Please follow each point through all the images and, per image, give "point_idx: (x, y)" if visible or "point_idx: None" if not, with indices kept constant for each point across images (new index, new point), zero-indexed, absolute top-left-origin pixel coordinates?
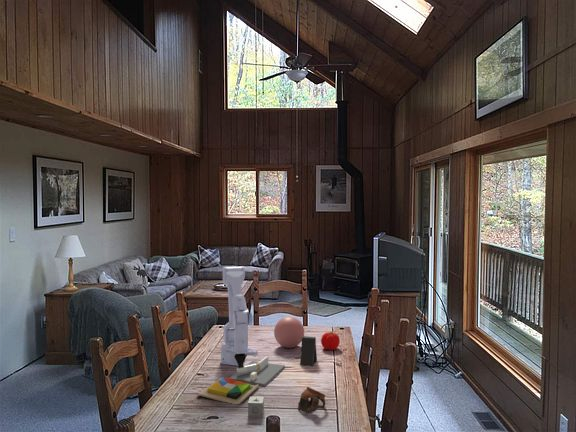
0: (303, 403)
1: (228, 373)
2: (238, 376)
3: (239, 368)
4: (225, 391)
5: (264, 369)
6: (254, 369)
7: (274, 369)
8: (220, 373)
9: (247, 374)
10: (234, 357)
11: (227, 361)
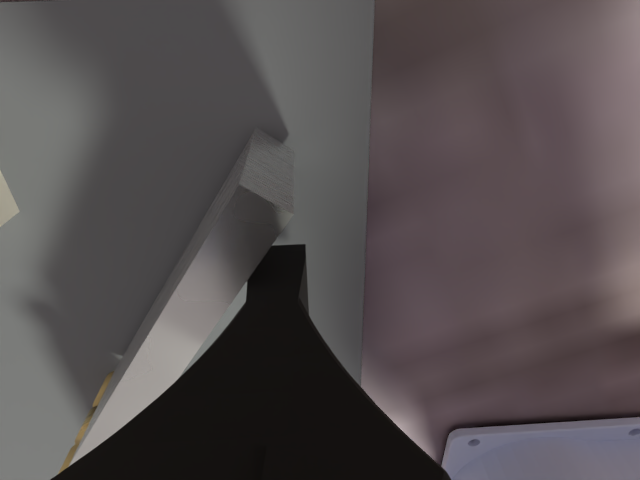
0: None
1: (491, 247)
2: None
3: (219, 219)
4: None
5: None
6: (112, 377)
7: (16, 473)
8: (604, 207)
9: None
10: (443, 477)
11: (593, 453)
